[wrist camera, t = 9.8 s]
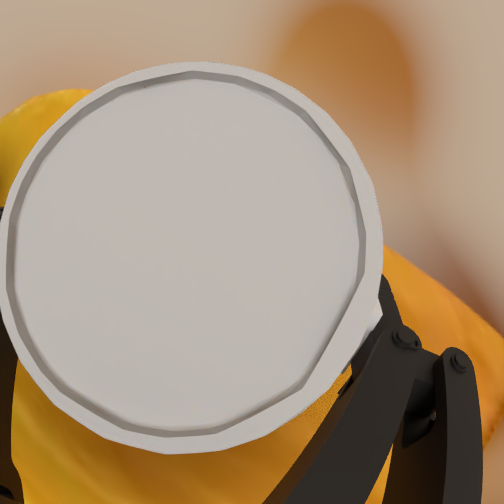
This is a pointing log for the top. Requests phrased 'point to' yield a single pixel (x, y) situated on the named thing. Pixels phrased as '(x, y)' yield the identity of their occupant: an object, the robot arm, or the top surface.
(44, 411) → the top surface
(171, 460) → the top surface
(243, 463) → the top surface
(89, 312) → the disposable coffee cup
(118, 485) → the top surface
